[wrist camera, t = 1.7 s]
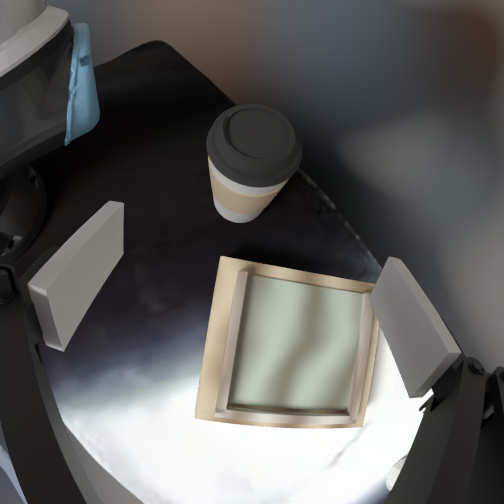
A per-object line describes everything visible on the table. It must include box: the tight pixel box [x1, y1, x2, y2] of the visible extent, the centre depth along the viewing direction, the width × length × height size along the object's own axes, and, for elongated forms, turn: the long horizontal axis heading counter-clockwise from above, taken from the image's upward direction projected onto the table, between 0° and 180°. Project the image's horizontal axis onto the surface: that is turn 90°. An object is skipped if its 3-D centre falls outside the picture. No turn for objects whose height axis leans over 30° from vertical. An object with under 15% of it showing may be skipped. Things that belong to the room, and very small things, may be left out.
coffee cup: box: [207, 104, 302, 223], centre depth 32 cm, size 9×9×15 cm
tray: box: [195, 256, 379, 428], centre depth 32 cm, size 20×18×6 cm
